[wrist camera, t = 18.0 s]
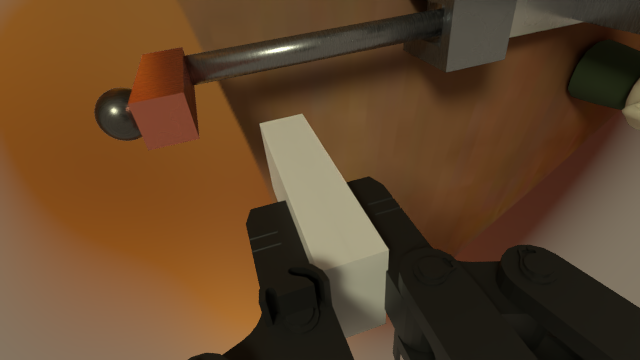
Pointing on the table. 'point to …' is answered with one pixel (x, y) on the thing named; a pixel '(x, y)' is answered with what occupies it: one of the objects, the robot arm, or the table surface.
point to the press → (510, 26)
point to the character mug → (610, 79)
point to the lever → (234, 74)
